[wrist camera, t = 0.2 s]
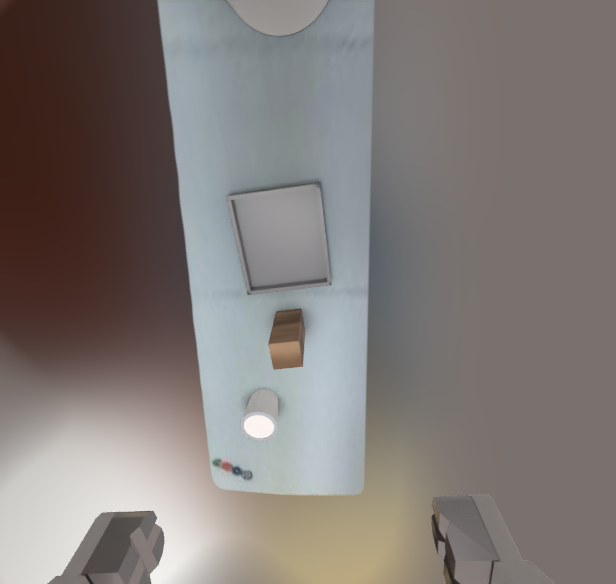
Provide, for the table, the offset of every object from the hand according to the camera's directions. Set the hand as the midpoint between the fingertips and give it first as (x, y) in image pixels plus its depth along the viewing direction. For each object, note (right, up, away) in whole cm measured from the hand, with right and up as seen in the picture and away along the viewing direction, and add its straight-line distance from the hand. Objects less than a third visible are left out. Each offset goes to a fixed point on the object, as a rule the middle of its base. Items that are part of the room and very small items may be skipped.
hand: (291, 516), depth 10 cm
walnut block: (-3, +1, +52) cm, 52 cm away
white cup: (-8, -15, +59) cm, 61 cm away
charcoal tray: (-4, +15, +46) cm, 48 cm away
